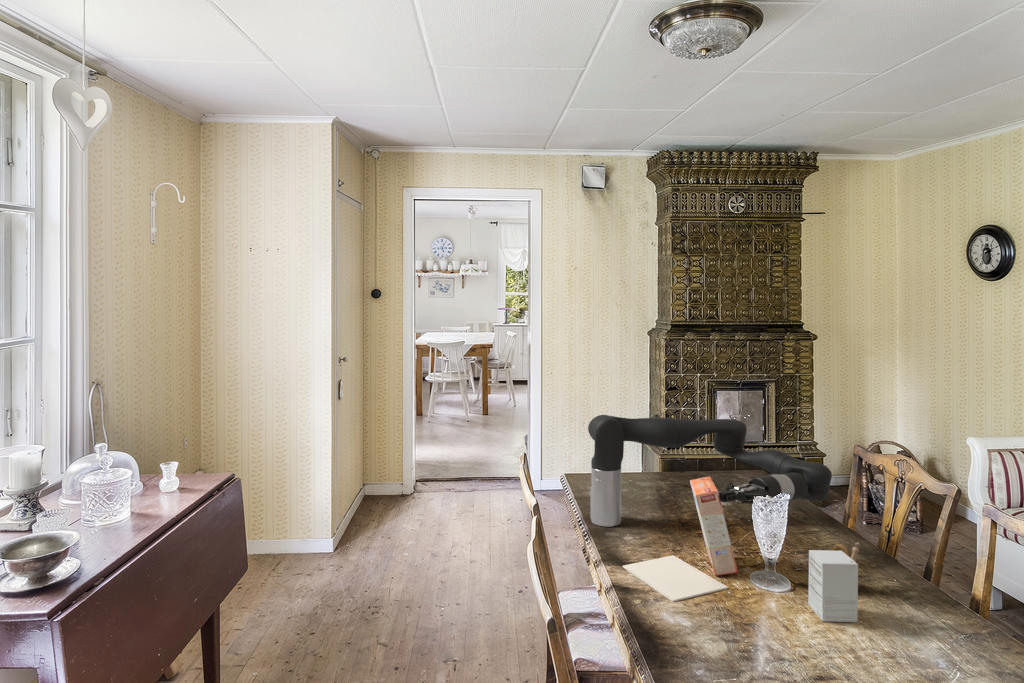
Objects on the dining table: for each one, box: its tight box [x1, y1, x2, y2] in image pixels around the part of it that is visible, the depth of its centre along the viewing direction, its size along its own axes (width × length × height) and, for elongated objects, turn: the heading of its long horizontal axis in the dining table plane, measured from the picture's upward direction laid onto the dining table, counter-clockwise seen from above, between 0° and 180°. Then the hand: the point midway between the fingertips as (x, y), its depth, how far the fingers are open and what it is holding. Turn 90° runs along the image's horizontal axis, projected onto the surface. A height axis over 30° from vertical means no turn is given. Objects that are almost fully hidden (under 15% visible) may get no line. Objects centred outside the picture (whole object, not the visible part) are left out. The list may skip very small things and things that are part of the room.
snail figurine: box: [832, 542, 860, 563], centre depth 138 cm, size 5×6×12 cm
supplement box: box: [807, 549, 859, 623], centre depth 126 cm, size 7×7×13 cm
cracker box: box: [689, 476, 739, 577], centre depth 150 cm, size 14×6×21 cm, turn 168°
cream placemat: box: [622, 555, 729, 603], centre depth 144 cm, size 20×16×1 cm
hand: (720, 497), depth 149 cm, fingers closed
